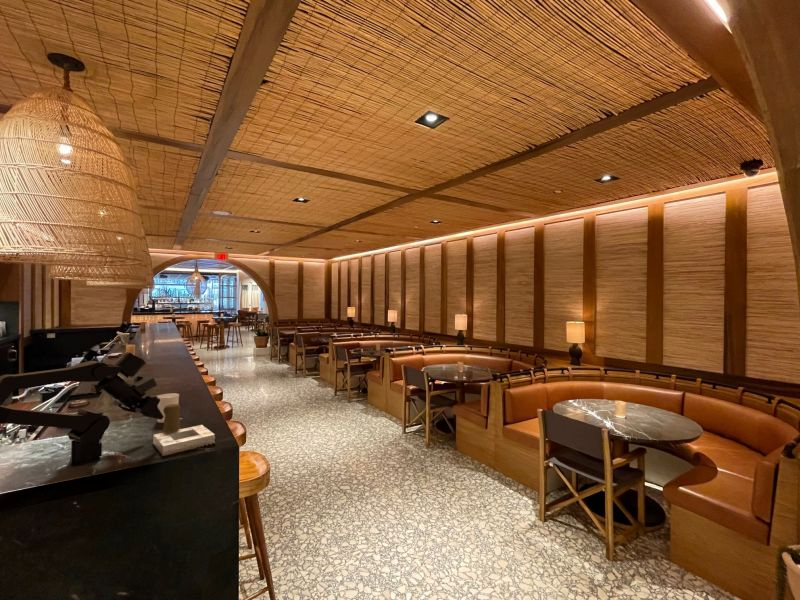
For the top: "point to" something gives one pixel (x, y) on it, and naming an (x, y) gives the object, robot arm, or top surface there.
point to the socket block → (183, 439)
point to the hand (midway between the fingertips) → (155, 416)
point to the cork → (171, 418)
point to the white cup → (166, 403)
